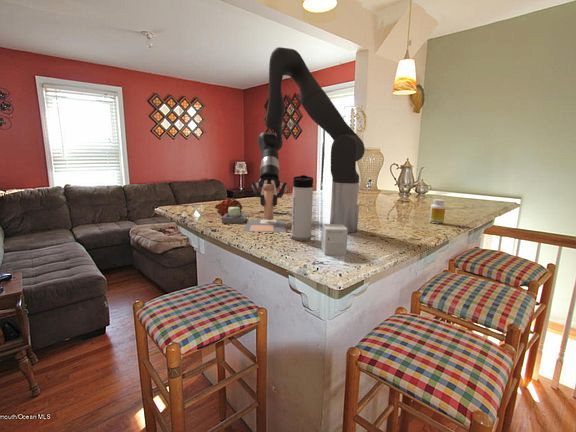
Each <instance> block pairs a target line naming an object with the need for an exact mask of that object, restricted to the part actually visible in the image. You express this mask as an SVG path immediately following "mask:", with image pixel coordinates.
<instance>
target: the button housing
mask: <svg viewBox="0 0 576 432" xmlns="http://www.w3.org/2000/svg"><path fill="white" fill-rule="evenodd" d="M246 220H247V214H246V213H240V217H228V213H225V214H223V216H222V217H221V223H222V224H245V221H246Z"/></svg>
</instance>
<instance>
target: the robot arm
mask: <svg viewBox="0 0 576 432" xmlns="http://www.w3.org/2000/svg"><path fill="white" fill-rule="evenodd" d="M302 57H303V56H301V54H300V53H299V52H298V51H297V50H296V49H293V48H287V47H280V46H279V47H275V48H274V49H273V50H272V51H271V54H270V57H269V64H268V69H269V70H268V102H267V103H268V104H267V108H266V109H267V110H266V115H265V116H266V117H265V122H264V123H265V127H266V128H268V129H270V130H273V131H274V133H273V132H271V133H270V132H265V131H264V132H261V133H260V134H259V135H258V138H257V143H258V147H259V150H260V155H261V163H260V169H259V170H260V171H259V180H258V181H257V182H255V181H252V182H251V188H252V190H253V192H254V195H255V197H256V198H260V203H259V204H260V206H262V207H263V208H264V184H274V200H273V207H274V208H275V207H276V206H277V205H278V198H279V199H281V198H282V197H283V195H284V194H285V193H286V192H285V191H286V189H287V182H281V180H280V164H279V151H280V150H281V149H282V147H283V142H284V141H283V133H282V132H283V131H282V130H283V129H282V128H283V123H284V122H283V120H284V116H285V110H286V108H285V101H284V97H283V93H282V83H283V77H284V76H288V77H290V78H291V79H292V80H293V81H294V83H295V84H296V86H297V87H298V89H299V90H298V91H299V101H300V103H301V106H302V107H303V109H304V110H305V113H307V115H308V116H309V118H310V119H311V120H312V121H313V122H314V123H315V124H316V125H318V126H319V128H321V129H322V130H324V131H325V133H327V134H328V135H329V137H331V138H332V140H333V142H332V144H331V147H330V175H331V177H332V181H331V182H332V183H331V196H330V197H331V198H330V199H331V200H330V216H329V218H330V219H329V220H330V221H329V224H338V225H344V226H345V227H346V228H347V229H348V234H349V233H356V232H358V226H359V225H358V224H359V208H360V205H359V204H358V201H359V200H358V199H359V198H358V197H359V185H360V175H359V173H358V172H357V167H356V164H357V163H356V162H358V161H360V160H362V158H363V157H364V155H365V149H366V148H365V144H364V142H363V140H362V138H360V137H359V135H358V134H357V133H356V132H355V131H354V130H353V129H352V128H351V127H350V126H349V125H348V123H347V122H346V121H345V119H344V118H343V116H342V115H341V113H340V112H339V110H338V109H337V107H336V106H335V105H334V104H333V102H332V100H331V98H330V97H329V96H328V95H327V93H326V92H325V90H324V89H323V88H322V87H321V86H320V84H319V83H318V81H317V79H315V77H314V76H313V74H312V73H311V71H310V70H309V68H308V66H307V64H306V63H305V60H304V59H303V58H302ZM259 187H260V188H261V191H259V189H258V188H259ZM279 187H280V190H279V192H278V191H277V189H278V188H279Z"/></svg>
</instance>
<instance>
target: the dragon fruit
mask: <svg viewBox="0 0 576 432" xmlns="http://www.w3.org/2000/svg"><path fill="white" fill-rule="evenodd" d="M229 207H240V214H242V209H243V205H242V204H241V202H240V201H239V200H237V199H235V198H234V197H231V198H229V197H227V198H224V200H222V201H221V202H220V203H218V204H216V205H215V206H214V209H215V210H217V213H218V214H219V215H224V214H225V213H228V208H229Z"/></svg>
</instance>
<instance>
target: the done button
mask: <svg viewBox="0 0 576 432" xmlns="http://www.w3.org/2000/svg"><path fill="white" fill-rule="evenodd" d="M240 214H241V213H240V207H229V208H228V217H240Z"/></svg>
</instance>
